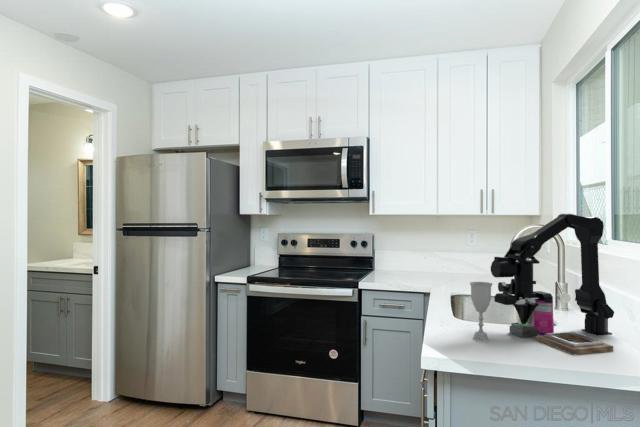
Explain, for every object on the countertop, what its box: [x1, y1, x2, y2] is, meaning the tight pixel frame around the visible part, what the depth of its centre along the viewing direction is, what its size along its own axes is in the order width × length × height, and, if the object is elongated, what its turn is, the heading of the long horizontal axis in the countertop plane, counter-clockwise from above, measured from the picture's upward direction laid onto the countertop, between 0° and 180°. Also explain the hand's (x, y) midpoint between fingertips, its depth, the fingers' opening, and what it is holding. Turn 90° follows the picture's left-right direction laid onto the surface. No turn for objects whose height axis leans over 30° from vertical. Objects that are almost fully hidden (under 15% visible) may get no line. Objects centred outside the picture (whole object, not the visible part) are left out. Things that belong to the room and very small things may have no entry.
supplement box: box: [533, 300, 555, 335], centre depth 139 cm, size 6×6×12 cm
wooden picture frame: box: [536, 330, 614, 355], centre depth 125 cm, size 14×14×2 cm
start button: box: [517, 321, 530, 326], centre depth 136 cm, size 3×3×1 cm
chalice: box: [469, 281, 493, 342], centre depth 131 cm, size 7×7×18 cm
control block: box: [509, 321, 539, 339], centre depth 136 cm, size 6×6×4 cm
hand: (523, 323), depth 136 cm, fingers closed, pressing on start button
